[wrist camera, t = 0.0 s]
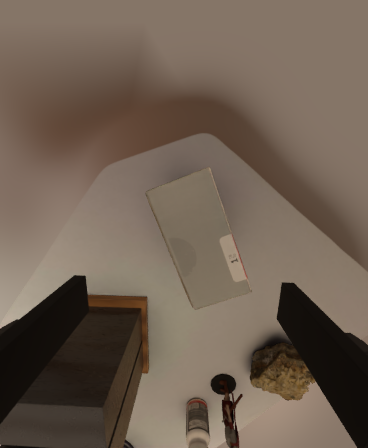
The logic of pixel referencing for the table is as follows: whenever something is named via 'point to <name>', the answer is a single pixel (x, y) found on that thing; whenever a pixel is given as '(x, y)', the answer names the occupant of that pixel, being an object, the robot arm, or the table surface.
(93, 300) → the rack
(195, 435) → the pill bottle
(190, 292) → the hard drive box
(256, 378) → the mineral specimen
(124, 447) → the vase
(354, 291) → the table surface
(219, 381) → the figurine
